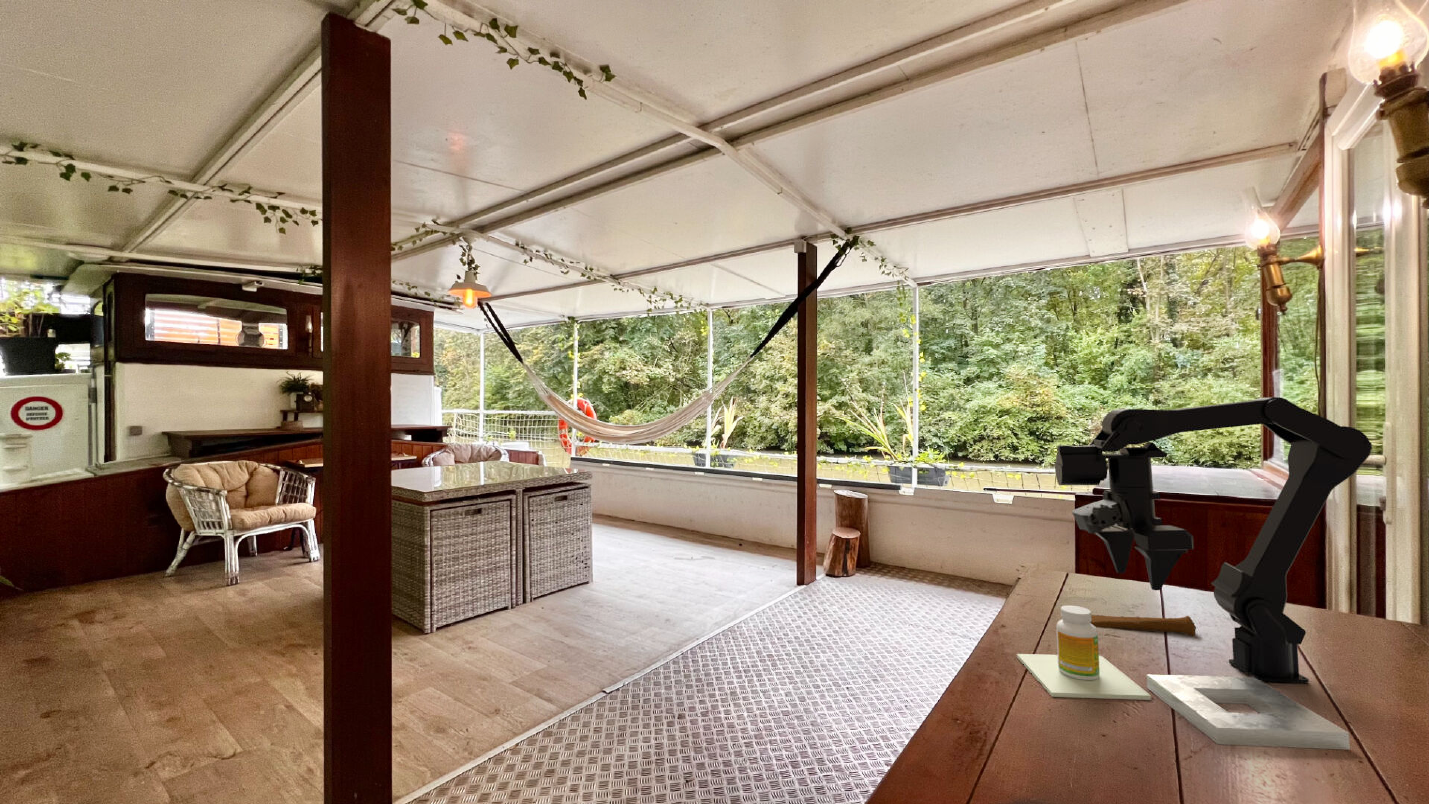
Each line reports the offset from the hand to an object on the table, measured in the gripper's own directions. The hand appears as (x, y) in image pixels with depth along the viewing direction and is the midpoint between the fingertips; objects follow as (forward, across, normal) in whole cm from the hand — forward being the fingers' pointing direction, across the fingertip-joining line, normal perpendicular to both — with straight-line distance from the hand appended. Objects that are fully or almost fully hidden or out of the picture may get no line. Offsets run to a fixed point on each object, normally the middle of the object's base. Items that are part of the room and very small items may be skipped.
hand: (1137, 581), depth 92 cm
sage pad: (+13, +6, -13) cm, 19 cm away
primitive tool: (+14, -14, +6) cm, 21 cm away
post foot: (+13, +17, +2) cm, 21 cm away
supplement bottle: (+12, +6, -13) cm, 19 cm away
